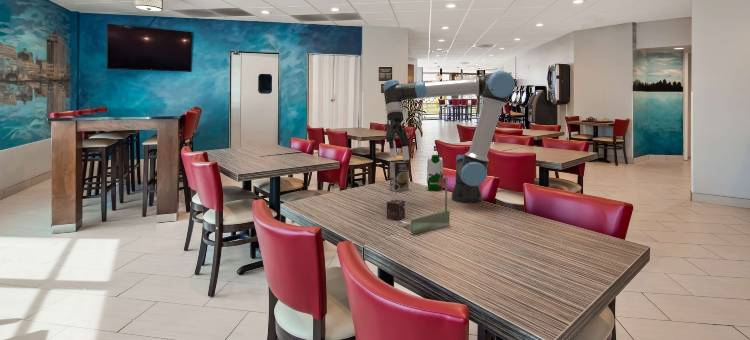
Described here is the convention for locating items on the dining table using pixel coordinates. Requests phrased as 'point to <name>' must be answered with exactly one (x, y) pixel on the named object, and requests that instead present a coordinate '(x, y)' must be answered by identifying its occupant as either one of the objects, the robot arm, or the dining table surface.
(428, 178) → the milk carton
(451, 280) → the dining table surface
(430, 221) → the green bar with posts
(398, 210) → the box
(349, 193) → the dining table surface
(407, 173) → the coffee box
